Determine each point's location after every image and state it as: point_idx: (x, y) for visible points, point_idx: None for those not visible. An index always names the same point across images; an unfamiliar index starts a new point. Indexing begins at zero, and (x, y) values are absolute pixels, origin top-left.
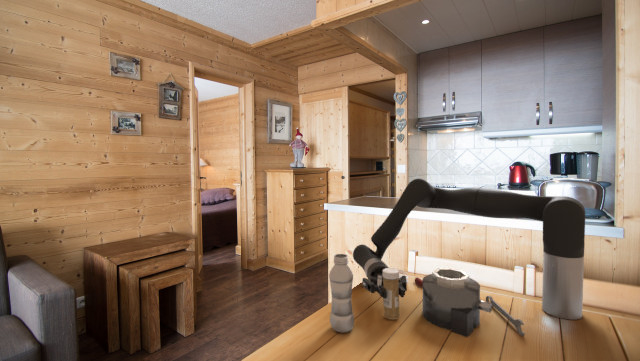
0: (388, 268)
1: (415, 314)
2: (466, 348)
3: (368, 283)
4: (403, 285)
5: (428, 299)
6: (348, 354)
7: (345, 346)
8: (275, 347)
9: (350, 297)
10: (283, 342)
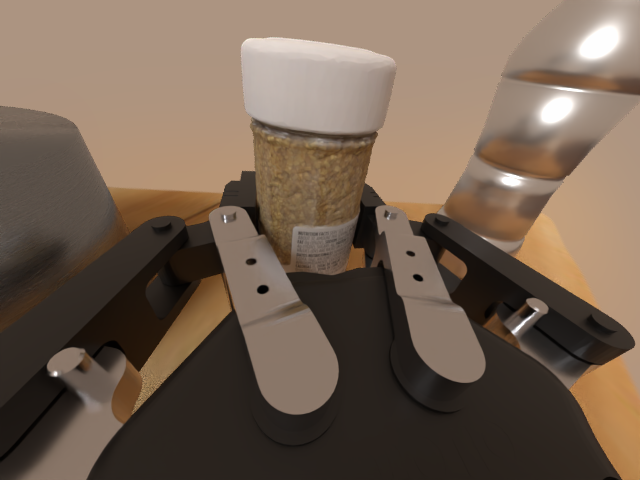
0: (340, 45)
1: (164, 359)
2: (158, 201)
3: (481, 241)
4: (196, 225)
5: (111, 216)
6: (401, 203)
7: (415, 217)
8: (542, 221)
9: (473, 155)
10: (544, 230)
